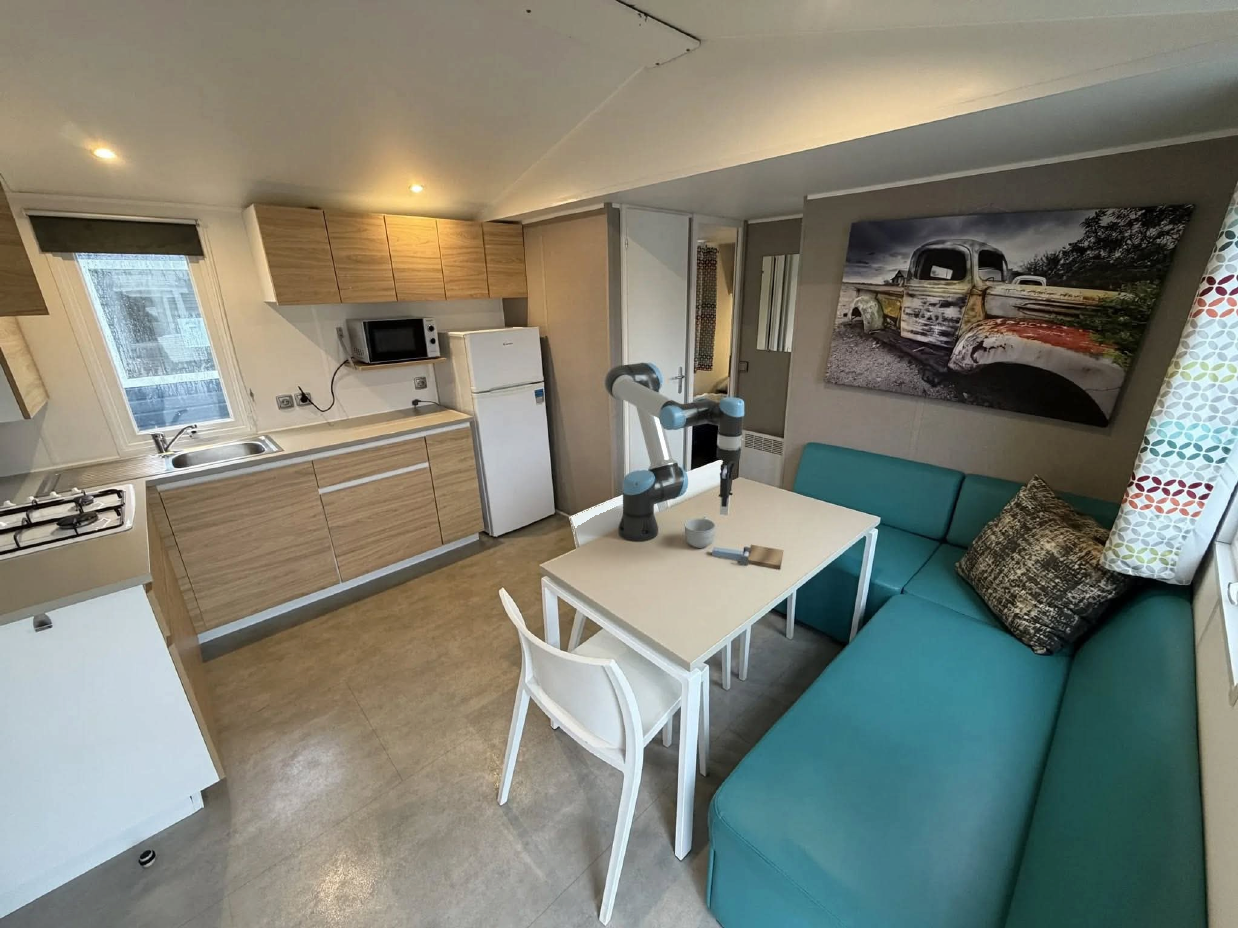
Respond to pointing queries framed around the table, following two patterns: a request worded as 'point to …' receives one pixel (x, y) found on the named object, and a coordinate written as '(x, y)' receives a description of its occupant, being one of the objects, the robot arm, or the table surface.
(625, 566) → the table surface
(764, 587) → the table surface
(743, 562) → the hinge cheek
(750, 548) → the hinge cheek
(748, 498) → the table surface
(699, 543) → the teacup
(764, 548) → the board
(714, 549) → the leg
